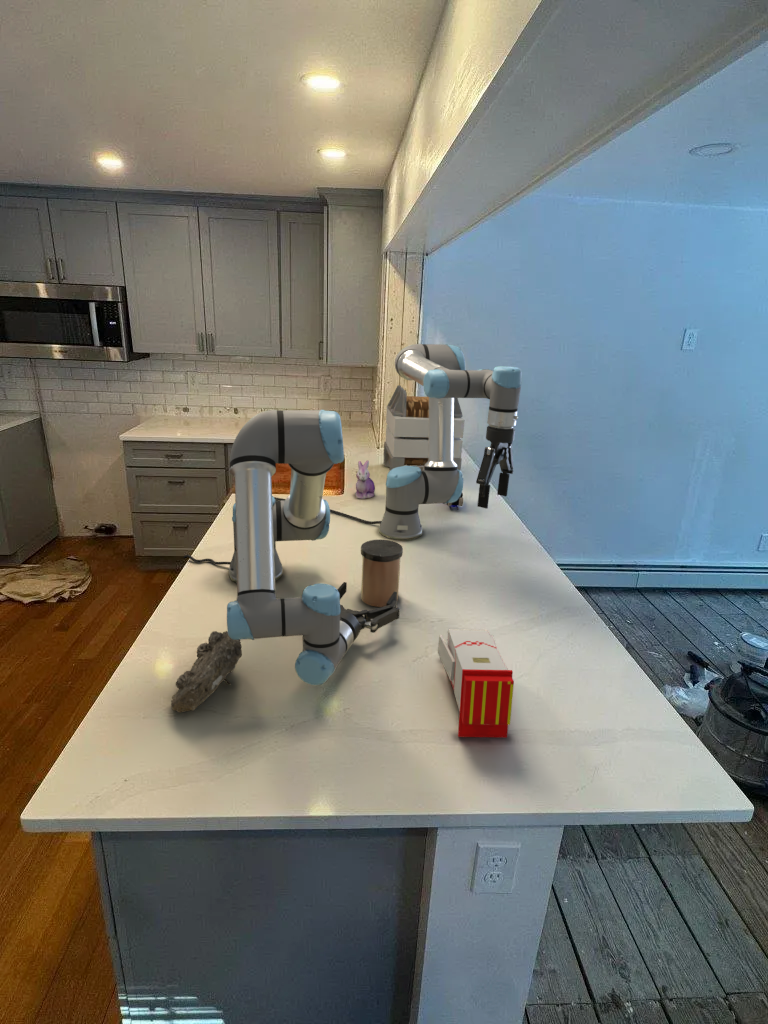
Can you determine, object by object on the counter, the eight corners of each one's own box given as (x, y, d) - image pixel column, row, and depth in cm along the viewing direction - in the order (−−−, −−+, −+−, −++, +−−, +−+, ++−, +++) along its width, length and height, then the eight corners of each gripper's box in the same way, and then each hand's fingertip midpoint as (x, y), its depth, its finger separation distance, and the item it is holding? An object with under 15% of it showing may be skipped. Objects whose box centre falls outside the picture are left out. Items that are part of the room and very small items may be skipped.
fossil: (194, 633, 127) (242, 602, 122) (224, 662, 130) (271, 633, 125) (149, 706, 107) (203, 673, 102) (185, 738, 110) (239, 707, 105)
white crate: (382, 463, 289) (386, 382, 275) (445, 464, 293) (451, 384, 279) (390, 482, 257) (394, 392, 243) (460, 483, 261) (468, 394, 247)
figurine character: (463, 515, 225) (458, 499, 238) (465, 497, 221) (460, 482, 235) (446, 514, 224) (442, 498, 238) (448, 497, 221) (444, 482, 235)
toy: (488, 613, 130) (523, 677, 101) (484, 667, 133) (517, 744, 104) (435, 612, 130) (455, 676, 101) (432, 666, 133) (451, 743, 103)
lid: (361, 544, 156) (361, 538, 155) (402, 545, 156) (402, 540, 156) (359, 561, 146) (359, 555, 145) (403, 562, 146) (403, 557, 145)
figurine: (359, 500, 232) (360, 465, 227) (349, 493, 240) (350, 458, 235) (380, 498, 236) (381, 463, 231) (369, 490, 244) (370, 457, 239)
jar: (361, 588, 160) (363, 540, 155) (397, 590, 160) (400, 542, 155) (360, 606, 150) (361, 556, 146) (398, 607, 151) (401, 557, 146)
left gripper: (288, 636, 131) (324, 595, 150) (391, 659, 124) (416, 613, 143) (287, 608, 128) (325, 570, 147) (393, 629, 122) (417, 587, 141)
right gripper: (495, 435, 140) (486, 516, 147) (531, 421, 160) (521, 493, 167) (468, 431, 144) (460, 509, 151) (505, 418, 164) (497, 488, 171)
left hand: (370, 591), depth 145 cm, fingers open, 13 cm apart
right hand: (492, 501), depth 159 cm, fingers open, 13 cm apart
